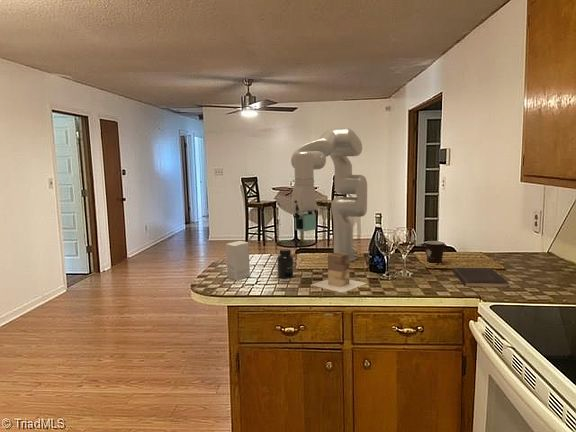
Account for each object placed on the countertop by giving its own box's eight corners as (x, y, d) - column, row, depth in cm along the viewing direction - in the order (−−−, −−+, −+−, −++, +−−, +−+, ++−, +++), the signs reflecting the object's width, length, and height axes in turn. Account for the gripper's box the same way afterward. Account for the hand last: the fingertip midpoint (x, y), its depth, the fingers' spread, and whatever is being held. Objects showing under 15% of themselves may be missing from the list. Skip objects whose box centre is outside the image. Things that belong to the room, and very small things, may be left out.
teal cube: (305, 227, 181) (304, 213, 180) (315, 229, 177) (315, 214, 176) (294, 229, 177) (294, 215, 176) (305, 231, 172) (305, 216, 172)
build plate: (335, 278, 186) (335, 276, 185) (367, 285, 174) (367, 283, 174) (310, 287, 174) (310, 284, 174) (342, 295, 163) (342, 292, 163)
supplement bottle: (291, 279, 187) (291, 251, 186) (276, 278, 189) (275, 251, 187) (294, 274, 194) (294, 248, 192) (279, 274, 195) (279, 248, 194)
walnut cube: (337, 266, 178) (337, 252, 177) (349, 269, 174) (349, 254, 173) (327, 269, 174) (327, 254, 173) (339, 271, 169) (339, 256, 169)
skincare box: (241, 274, 197) (240, 240, 195) (251, 276, 193) (249, 242, 191) (226, 278, 191) (225, 243, 189) (236, 280, 187) (234, 245, 185)
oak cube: (337, 281, 178) (337, 266, 178) (349, 283, 174) (349, 269, 174) (328, 284, 174) (327, 269, 174) (340, 287, 170) (339, 272, 169)
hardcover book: (491, 273, 190) (491, 268, 190) (508, 288, 167) (509, 282, 167) (452, 272, 193) (452, 267, 192) (464, 287, 170) (464, 282, 170)
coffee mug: (446, 265, 204) (447, 244, 202) (428, 265, 204) (428, 244, 202) (438, 259, 215) (438, 239, 214) (420, 259, 215) (421, 239, 214)
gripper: (312, 181, 183) (313, 224, 185) (282, 184, 171) (283, 229, 173) (325, 181, 177) (326, 225, 180) (295, 184, 166) (296, 231, 168)
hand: (305, 227), depth 176 cm, fingers closed on teal cube, 6 cm apart
